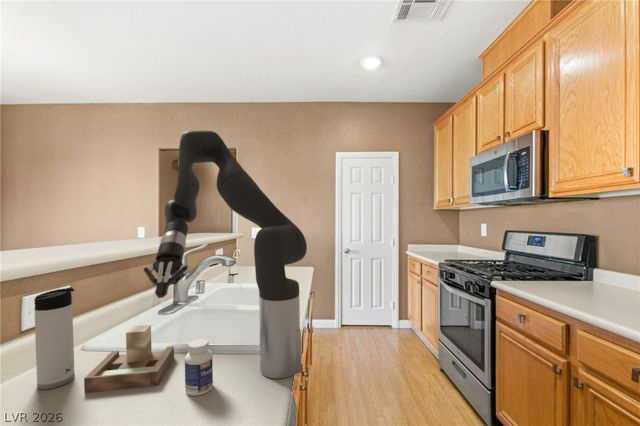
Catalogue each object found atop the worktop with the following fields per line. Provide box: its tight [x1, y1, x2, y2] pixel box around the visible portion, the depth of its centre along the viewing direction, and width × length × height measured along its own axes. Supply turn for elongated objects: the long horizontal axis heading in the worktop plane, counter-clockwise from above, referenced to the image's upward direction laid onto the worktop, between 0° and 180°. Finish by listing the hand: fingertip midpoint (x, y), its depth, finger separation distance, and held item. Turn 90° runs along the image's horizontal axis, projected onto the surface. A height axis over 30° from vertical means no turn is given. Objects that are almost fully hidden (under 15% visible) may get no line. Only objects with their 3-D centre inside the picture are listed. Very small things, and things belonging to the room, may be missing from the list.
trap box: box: [83, 345, 175, 394], centre depth 71 cm, size 14×12×3 cm
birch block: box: [125, 324, 153, 363], centre depth 75 cm, size 4×4×7 cm
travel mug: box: [34, 286, 76, 390], centre depth 68 cm, size 6×7×20 cm
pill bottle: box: [184, 338, 214, 397], centre depth 65 cm, size 5×5×10 cm
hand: (160, 296), depth 90 cm, fingers closed
